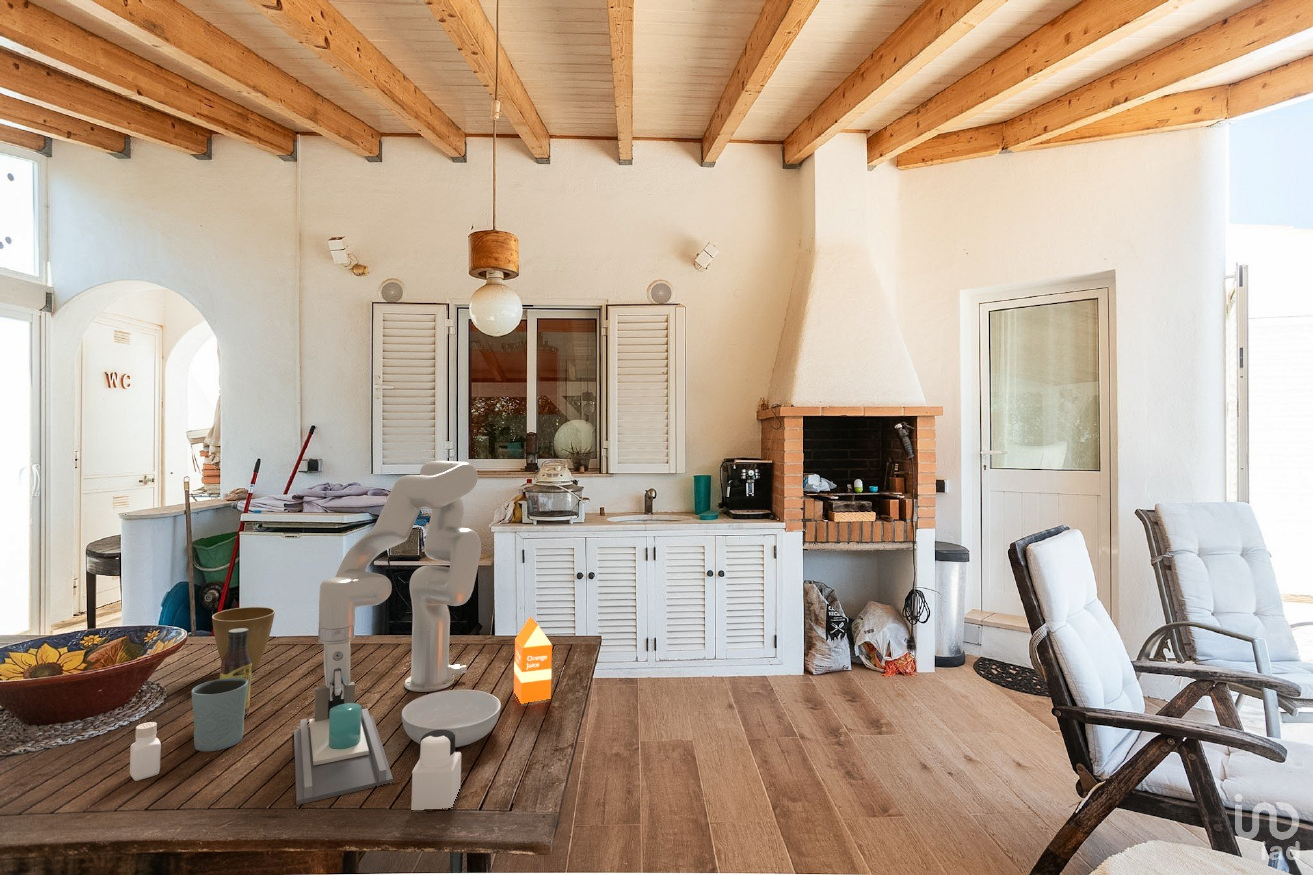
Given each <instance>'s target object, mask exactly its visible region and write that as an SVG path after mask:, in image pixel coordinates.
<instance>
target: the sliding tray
mask: <svg viewBox="0 0 1313 875" xmlns="http://www.w3.org/2000/svg"><path fill="white" fill-rule="evenodd" d="M343 685H344V686H343V688H344V704H347V703H355V698H356V696H355V694H356V690H355V689H356V684H355V681H350V684H349V685H347V684H346V685H345V684H344V682H343ZM333 691H335V690H334V689H333ZM328 700H330V689H329V688H328V687H327V686H326V685H323V686H317V687H315V689H314V716H313V717H314V718H309V722H308V724H309V727H310V736H311V748H312V759H313V766H314V765H319V764H324V763H329V762H334V761H339V760H344V759H348V758H353V757H358V756H363V755H368V754H369V749H368V746H367V742H366V738H365V735H364V731H363V727H362V724H361V737H360V742H359V743H358V744H357V745H355V746H353V747H350V748H346V749H332V748H330V747H329V718H328Z"/></svg>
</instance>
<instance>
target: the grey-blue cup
mask: <svg viewBox="0 0 1313 875" xmlns="http://www.w3.org/2000/svg"><path fill="white" fill-rule="evenodd" d="M247 690H248V680H246V679H243V678H225V679H220V678H218V679H215V680H210V681H206V682H203V683H200V684H198V685H195V687H193V688H192V689H191V704H192V714H193V727H194V731H193V741H194V742H193V745H194V749H195V750H197V751H200V752H214V751H221V750H225V749H227V748H231V747H233V746H236V745H237V744H239V743H240V742H241V741H242V739H243V737H244V729H245V728H244V727H245V716H246V715H245V703H246V698H247Z"/></svg>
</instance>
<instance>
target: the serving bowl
mask: <svg viewBox="0 0 1313 875" xmlns="http://www.w3.org/2000/svg"><path fill="white" fill-rule="evenodd" d="M501 709H502V704H501V701H500V699H499V698H498V697H496V696H495V695H493V694H491V693H489V692H486V691H482V690H474V689H448V690H441V691H434V692H432V693H428V694H425V695H422V696H420V697H417V698H415V699H413V700H412V701H410V702H409V703H407V704H406V705H405V706H404V707H403V708H402V710H401V722H402V726H403V727H402V728H403V730H404V731H405V733H406V734H407V736H408V737H409V738H410V739H411V740H412V741H414V742H415V743H417V744H419V745H420V740H421V738H422V737H423V735H425V734H426V733H428V732H431V731H434V730H440V729H443V730H449V731H452V732H453V733H454V734H455V748H460V747H464V746H468V745H471V744H473V743H475V742H478V741H479V740H481V739H483V738H484V737H486V736H487V735H488V734H489V733H490V732H491V731H492V730H493V728H494V727H495V725H496V724H497V723H498V719H499V717H500V713H501Z"/></svg>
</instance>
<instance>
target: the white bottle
mask: <svg viewBox="0 0 1313 875" xmlns="http://www.w3.org/2000/svg"><path fill="white" fill-rule="evenodd" d="M419 745H420V746H419V747H420V748H419V759H418V761H417V763H416V764H415V766H414V768H412V771H411V791H410V792H411V795H410V796H411V797H410V798H411V799H410V802H411V803H410V811H411V810H424V809H442V808H443V809H444V808H451V807H454V806H453V804H454V805H455V803H454V801H455V799H456V800H457V798H458V796H457V794H458V792H459V793H460V791H459V789H460V790H461V786H462V785H461V782H462V779H461V776H462V753H461V751H456V747H455V734H454V733H453V732H452V731H449V730H443V729H440V730H434V731H431V732H428V733H426V734H425V735H423V737H422V738H421V740H420V744H419ZM458 795H459V794H458ZM456 797H457V798H456ZM455 802H456V801H455Z"/></svg>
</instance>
